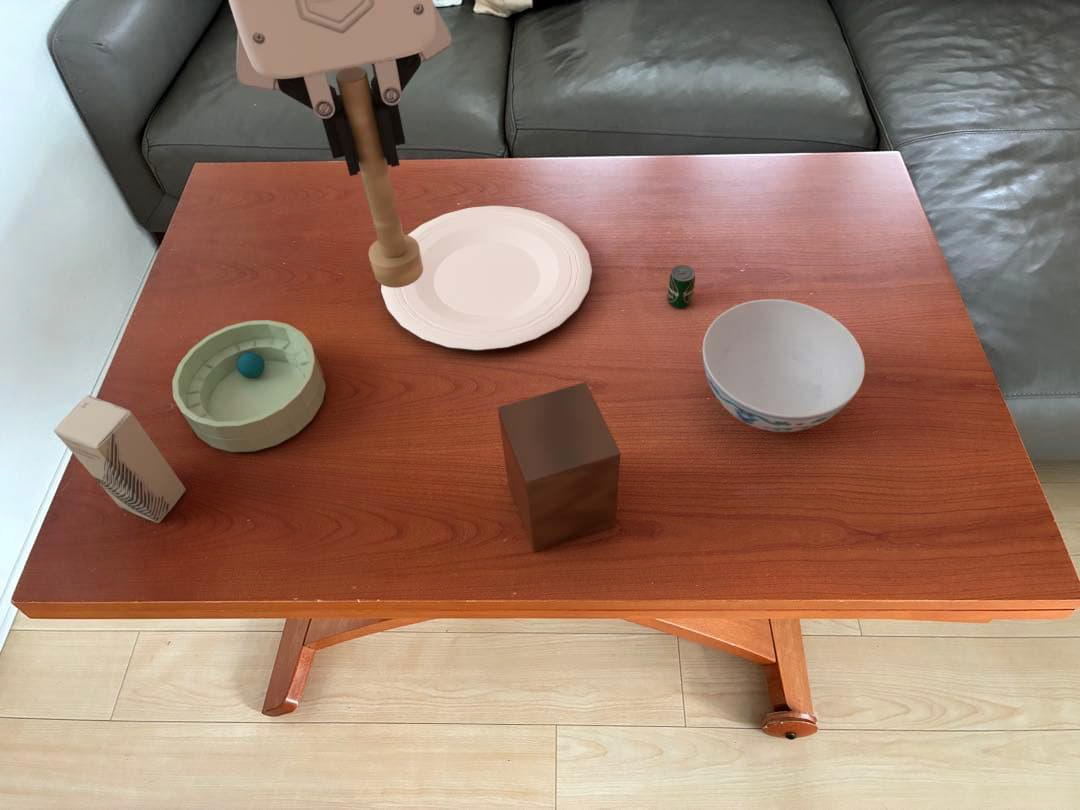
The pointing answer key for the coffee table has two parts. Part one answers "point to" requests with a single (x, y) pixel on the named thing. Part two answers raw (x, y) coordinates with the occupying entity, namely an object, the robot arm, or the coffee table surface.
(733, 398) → the chinaware
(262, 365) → the ball
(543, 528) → the stand
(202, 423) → the bowl
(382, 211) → the stick
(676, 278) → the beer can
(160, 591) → the coffee table surface
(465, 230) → the plate
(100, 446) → the box
